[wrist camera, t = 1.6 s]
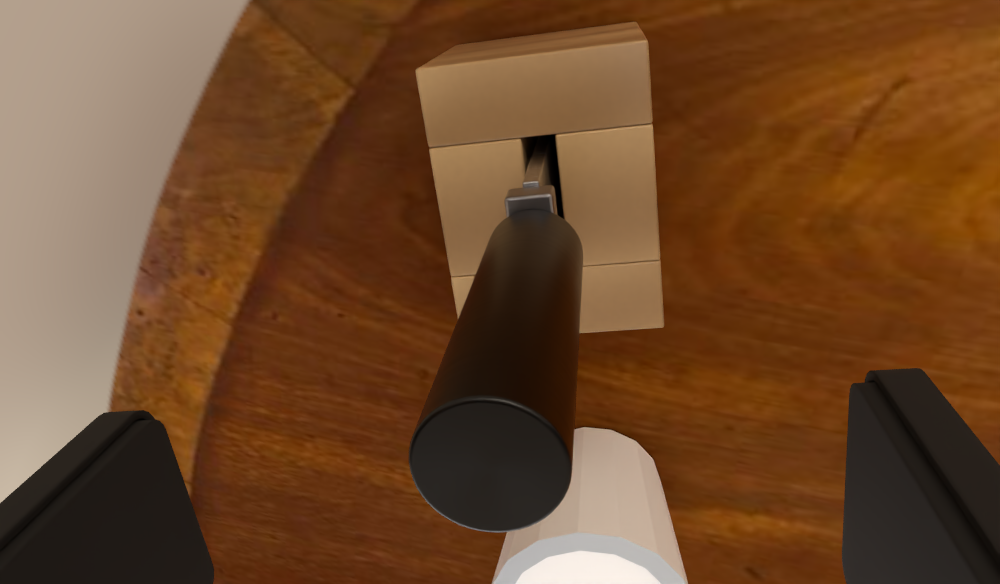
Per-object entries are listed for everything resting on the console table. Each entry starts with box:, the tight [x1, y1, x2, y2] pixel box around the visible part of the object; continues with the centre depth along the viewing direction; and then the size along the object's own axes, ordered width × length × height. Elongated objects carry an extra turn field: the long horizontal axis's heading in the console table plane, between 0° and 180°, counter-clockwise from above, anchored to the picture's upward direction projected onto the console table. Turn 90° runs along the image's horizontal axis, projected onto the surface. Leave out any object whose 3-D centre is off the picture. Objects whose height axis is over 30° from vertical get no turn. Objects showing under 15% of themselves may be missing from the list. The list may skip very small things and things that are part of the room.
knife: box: [409, 134, 583, 532], centre depth 18 cm, size 3×2×18 cm
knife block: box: [416, 22, 664, 333], centre depth 23 cm, size 8×6×6 cm
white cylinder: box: [492, 427, 688, 584], centre depth 28 cm, size 7×7×7 cm
